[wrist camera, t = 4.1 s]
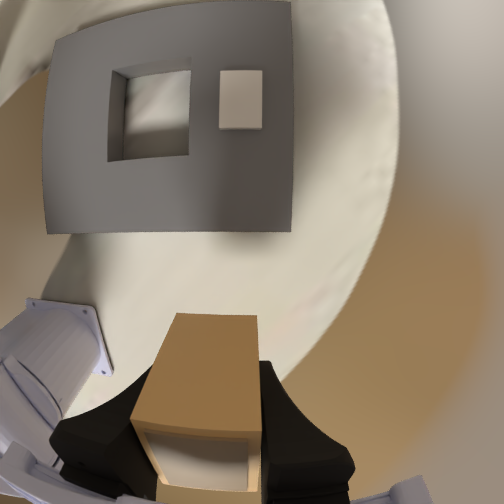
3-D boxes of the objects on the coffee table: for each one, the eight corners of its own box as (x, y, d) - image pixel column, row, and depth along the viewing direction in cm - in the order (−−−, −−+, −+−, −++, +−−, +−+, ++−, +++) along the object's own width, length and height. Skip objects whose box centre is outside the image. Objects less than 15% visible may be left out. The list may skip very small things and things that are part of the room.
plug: (186, 384, 15) (162, 486, 8) (176, 313, 13) (128, 421, 7) (254, 387, 15) (257, 494, 8) (256, 315, 14) (261, 435, 7)
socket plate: (64, 227, 19) (41, 236, 16) (71, 48, 15) (50, 37, 12) (285, 224, 20) (292, 235, 16) (286, 18, 15) (291, -4, 12)
